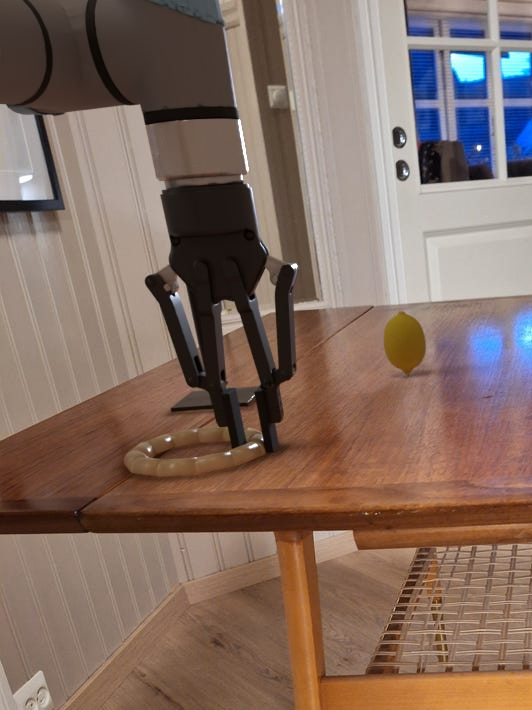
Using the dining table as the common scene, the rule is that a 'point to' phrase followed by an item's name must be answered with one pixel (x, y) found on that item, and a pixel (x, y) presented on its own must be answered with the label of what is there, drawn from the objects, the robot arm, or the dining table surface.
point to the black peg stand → (203, 398)
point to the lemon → (404, 342)
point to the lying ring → (145, 464)
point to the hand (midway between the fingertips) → (258, 457)
